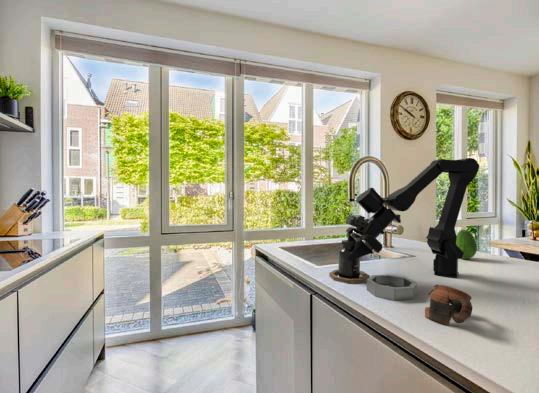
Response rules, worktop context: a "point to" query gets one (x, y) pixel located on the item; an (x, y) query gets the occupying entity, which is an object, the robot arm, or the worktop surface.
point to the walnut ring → (345, 280)
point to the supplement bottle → (345, 266)
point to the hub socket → (400, 291)
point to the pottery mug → (448, 305)
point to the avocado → (466, 244)
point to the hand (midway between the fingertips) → (344, 257)
